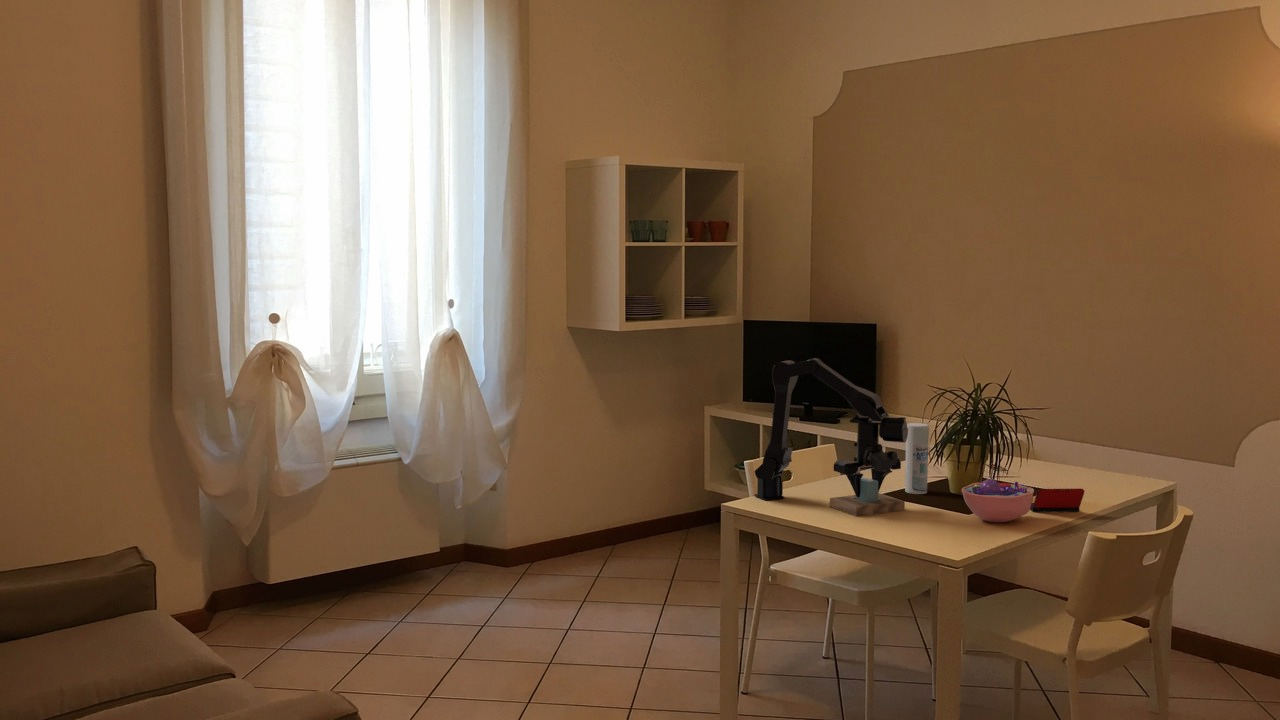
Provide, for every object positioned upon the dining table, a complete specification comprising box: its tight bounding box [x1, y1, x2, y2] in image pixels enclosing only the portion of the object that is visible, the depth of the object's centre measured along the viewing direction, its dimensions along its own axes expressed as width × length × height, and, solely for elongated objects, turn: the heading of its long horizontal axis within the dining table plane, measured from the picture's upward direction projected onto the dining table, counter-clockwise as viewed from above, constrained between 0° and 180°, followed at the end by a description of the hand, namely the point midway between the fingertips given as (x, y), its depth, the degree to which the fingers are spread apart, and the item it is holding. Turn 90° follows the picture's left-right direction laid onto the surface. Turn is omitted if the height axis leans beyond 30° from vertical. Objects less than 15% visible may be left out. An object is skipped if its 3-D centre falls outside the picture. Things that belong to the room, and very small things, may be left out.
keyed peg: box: [856, 476, 879, 503], centre depth 277 cm, size 5×4×8 cm
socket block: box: [829, 492, 906, 517], centre depth 277 cm, size 16×12×2 cm
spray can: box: [904, 422, 930, 495], centre depth 297 cm, size 6×6×20 cm
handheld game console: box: [1029, 488, 1086, 513], centre depth 274 cm, size 12×11×7 cm
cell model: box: [961, 478, 1035, 523], centre depth 264 cm, size 17×20×11 cm
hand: (866, 496), depth 277 cm, fingers open, 6 cm apart
